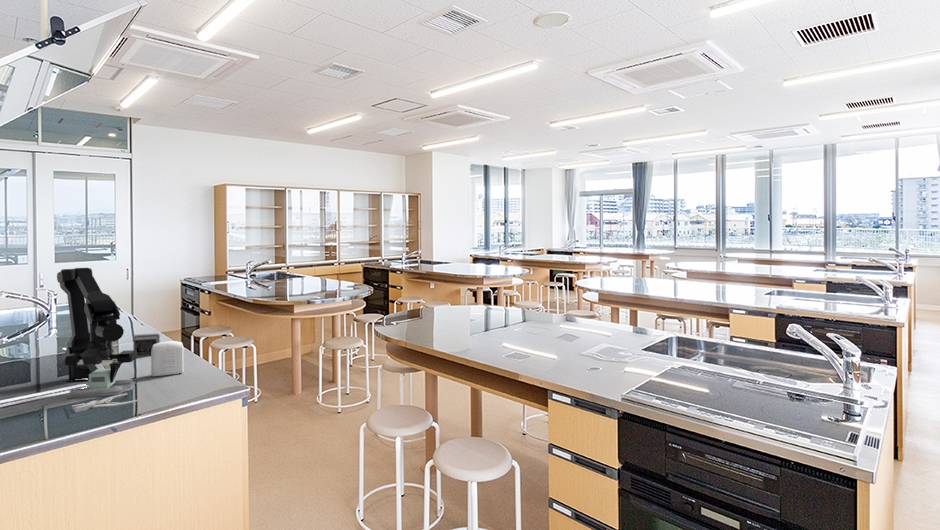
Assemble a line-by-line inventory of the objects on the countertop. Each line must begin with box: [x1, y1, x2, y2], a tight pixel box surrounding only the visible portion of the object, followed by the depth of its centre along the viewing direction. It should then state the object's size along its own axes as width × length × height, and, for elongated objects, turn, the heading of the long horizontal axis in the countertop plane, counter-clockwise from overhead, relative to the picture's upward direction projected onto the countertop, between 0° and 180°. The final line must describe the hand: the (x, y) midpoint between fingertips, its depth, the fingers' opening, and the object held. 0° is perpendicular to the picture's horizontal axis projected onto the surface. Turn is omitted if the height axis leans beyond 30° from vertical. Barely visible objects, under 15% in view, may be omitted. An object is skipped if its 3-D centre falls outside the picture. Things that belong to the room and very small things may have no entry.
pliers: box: [71, 392, 139, 413], centre depth 147 cm, size 10×2×15 cm
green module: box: [88, 367, 116, 389], centre depth 159 cm, size 5×6×5 cm
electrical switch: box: [133, 332, 161, 357], centre depth 202 cm, size 9×5×9 cm, turn 117°
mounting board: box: [67, 378, 135, 399], centre depth 159 cm, size 14×13×2 cm
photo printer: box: [150, 340, 185, 377], centre depth 177 cm, size 10×4×12 cm, turn 123°
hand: (102, 382), depth 159 cm, fingers closed on green module, 5 cm apart
